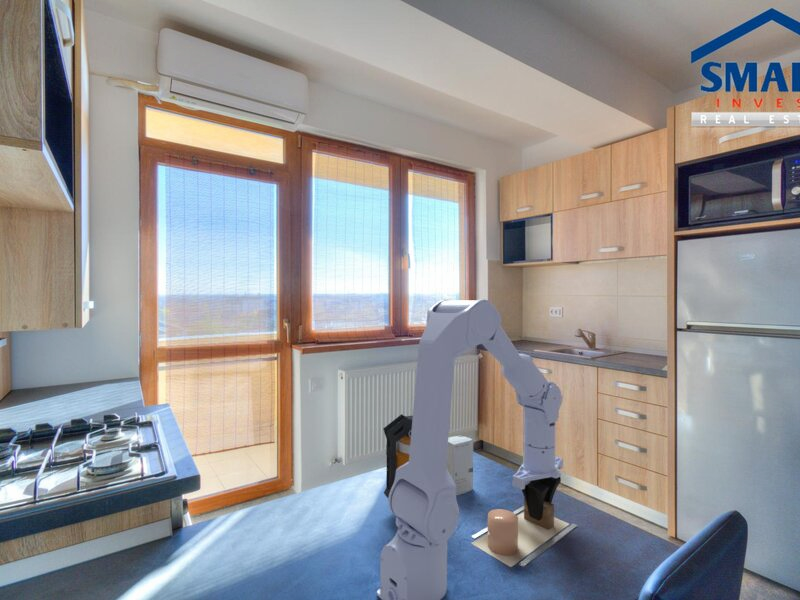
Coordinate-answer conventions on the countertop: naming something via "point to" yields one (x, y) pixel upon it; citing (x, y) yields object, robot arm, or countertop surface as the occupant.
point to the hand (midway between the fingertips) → (538, 515)
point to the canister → (397, 447)
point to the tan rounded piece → (502, 532)
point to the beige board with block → (528, 534)
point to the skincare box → (460, 462)
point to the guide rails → (539, 548)
